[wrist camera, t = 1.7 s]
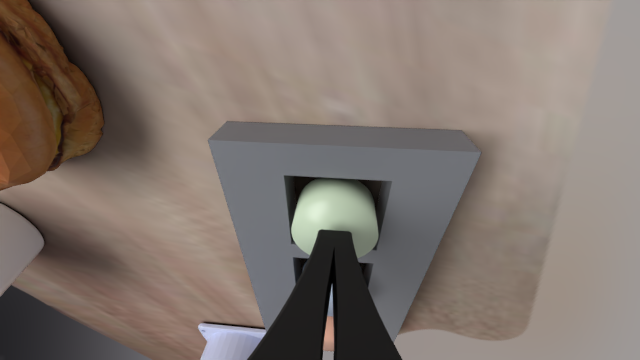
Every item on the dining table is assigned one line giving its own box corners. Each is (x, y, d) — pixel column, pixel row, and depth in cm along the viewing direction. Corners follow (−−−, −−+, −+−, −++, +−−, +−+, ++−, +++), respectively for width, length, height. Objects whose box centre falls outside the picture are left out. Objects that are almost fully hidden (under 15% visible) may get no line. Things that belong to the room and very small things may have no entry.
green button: (369, 234, 14) (372, 264, 12) (300, 229, 14) (294, 258, 12) (379, 177, 11) (385, 206, 10) (296, 172, 12) (288, 200, 10)
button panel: (387, 325, 23) (390, 350, 21) (273, 314, 23) (268, 337, 22) (461, 130, 11) (481, 152, 9) (226, 121, 12) (207, 140, 10)
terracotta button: (352, 326, 21) (352, 353, 19) (306, 322, 21) (303, 348, 19) (356, 303, 18) (357, 332, 17) (304, 299, 19) (301, 326, 17)
